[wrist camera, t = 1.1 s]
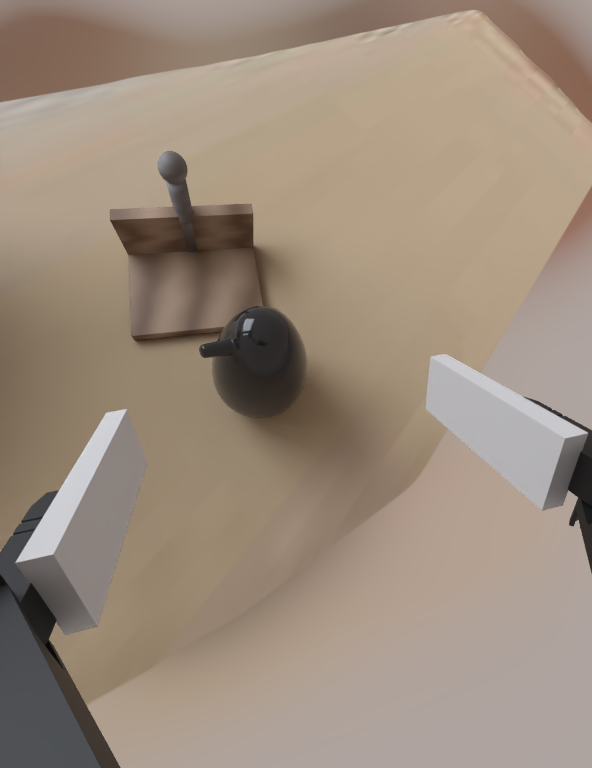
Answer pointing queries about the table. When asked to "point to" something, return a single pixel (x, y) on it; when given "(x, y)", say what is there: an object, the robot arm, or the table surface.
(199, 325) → the stand
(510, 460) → the robot arm
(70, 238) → the table surface
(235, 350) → the pump dispenser
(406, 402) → the table surface
